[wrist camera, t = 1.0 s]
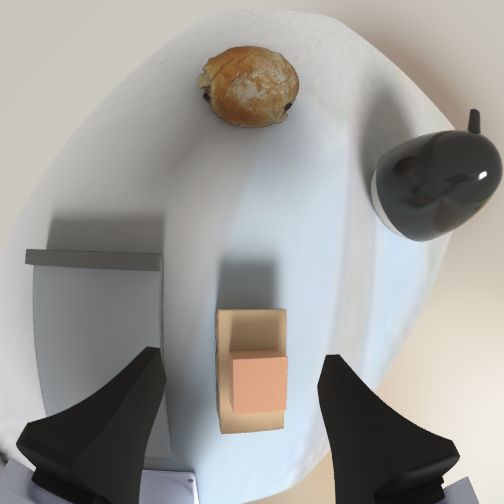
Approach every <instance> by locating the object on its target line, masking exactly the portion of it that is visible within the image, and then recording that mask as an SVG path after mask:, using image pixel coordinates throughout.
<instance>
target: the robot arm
mask: <svg viewBox="0 0 504 504" xmlns="http://www.w3.org/2000/svg"><path fill="white" fill-rule="evenodd" d="M165 383H166V376H165V372H164V367H163V362H162V357H161V352H160V348H157V347H149V346H147V347H145V348H144V349H143V350H142V351H141V352H140V353H139V354H138V355H137V356H136V357H135V358H134V359H133V360H132V361H131V362H130V363H129V364H128V365H127V366H126V367H125V368H124V369H123V370H122V371H120V372H119V373H118V374H117V375H116V376H115V377H114V378H113V379H111V380H110V381H109V382H108V383H107V384H105V385H104V386H103V387H102V388H100V389H99V390H98V391H96V392H95V393H93V394H92V395H90V396H89V397H87V398H86V399H84V400H83V401H81V402H79V403H77V404H75V405H73V406H72V407H70V408H68V409H66V410H64V411H61V412H59V413H57V414H54V415H52V416H49V417H46V418H43V419H40V420H36V421H33V422H29V423H27V425H26V426H25V428H24V430H23V432H22V433H21V435H20V437H19V439H18V440H17V442H16V446H17V448H18V449H19V451H20V452H21V453H22V454H23V455H24V456H25V457H26V458H27V459H28V460H29V461H30V462H31V463H32V464H33V465H34V466H35V467H36V470H35V472H33V471H32V470H31V469H29V468H28V467H26V466H24V465H23V464H21V463H20V462H18V461H16V460H15V459H13V458H10V459H9V461H8V463H7V465H6V467H5V469H4V471H3V473H2V475H1V477H0V501H1V502H2V503H4V504H199V500H198V493H197V486H196V478H195V474H194V473H192V472H172V471H156V470H145V469H143V463H144V457H145V452H146V447H147V443H148V439H149V436H150V433H151V430H152V427H153V424H154V421H155V418H156V415H157V413H158V410H159V407H160V404H161V401H162V398H163V393H164V388H165ZM317 388H318V396H319V404H320V408H321V412H322V416H323V420H324V424H325V427H326V431H327V435H328V439H329V443H330V447H331V452H332V460H333V468H334V479H335V496H336V497H335V498H336V504H479V502H478V499H477V497H476V494H475V492H474V490H473V487H472V485H471V483H470V480H469V478H468V477H465V478H463V479H461V480H459V481H457V482H455V483H453V484H451V485H449V486H447V487H446V488H444V489H442V486H441V484H443V483H444V480H443V477H442V476H443V475H444V474H445V473H446V472H448V471H449V470H450V469H451V468H452V467H453V466H454V465H455V464H456V463H457V461H458V460H459V458H460V455H459V453H458V451H457V449H456V447H455V445H454V443H453V441H452V440H449V439H446V438H443V437H441V436H438V435H436V434H433V433H431V432H429V431H427V430H425V429H423V428H421V427H419V426H417V425H416V424H414V423H412V422H411V421H409V420H407V419H406V418H404V417H403V416H401V415H400V414H398V413H397V412H396V411H394V410H393V409H392V408H391V407H389V406H388V405H387V404H386V403H384V402H383V401H382V400H381V399H380V398H379V397H378V396H377V395H376V394H375V393H373V392H372V391H371V390H370V389H369V388H368V386H367V385H366V384H365V383H364V382H363V381H362V380H361V379H360V378H359V377H358V376H357V375H356V373H355V372H354V371H353V370H352V369H351V368H350V366H349V365H348V364H347V363H346V362H345V361H344V359H343V358H342V357H341V356H340V355H339V354H336V355H326V357H325V360H324V364H323V368H322V371H321V375H320V378H319V382H318V385H317ZM189 479H192V480H189Z"/></svg>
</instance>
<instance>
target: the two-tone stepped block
mask: <svg viewBox="0 0 504 504" xmlns="http://www.w3.org/2000/svg"><path fill="white" fill-rule="evenodd" d="M215 337H216V339H217V353H215V364H216V377H217V381H218V390H216V401H217V413H218V417H219V426H220V431H221V434H231V433H247V432H258V431H268V430H276V429H283V428H284V410H281V411H272V412H262V413H249V414H234V413H233V410H232V407H231V404H230V401H229V351H258V350H278V351H280V352H281V353H283V354H284V355H286V310H285V309H217V313H215Z"/></svg>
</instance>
